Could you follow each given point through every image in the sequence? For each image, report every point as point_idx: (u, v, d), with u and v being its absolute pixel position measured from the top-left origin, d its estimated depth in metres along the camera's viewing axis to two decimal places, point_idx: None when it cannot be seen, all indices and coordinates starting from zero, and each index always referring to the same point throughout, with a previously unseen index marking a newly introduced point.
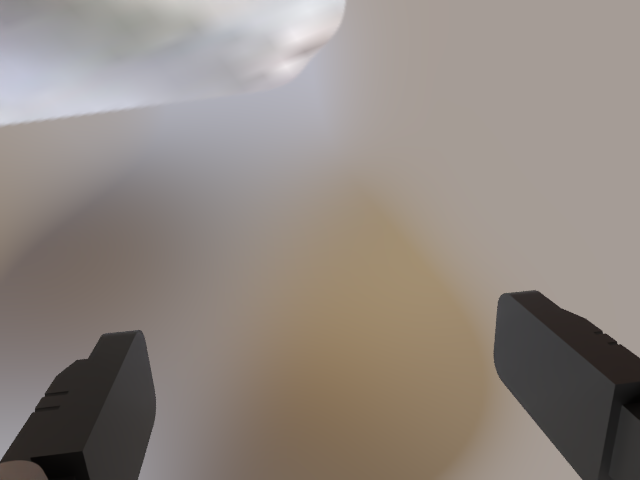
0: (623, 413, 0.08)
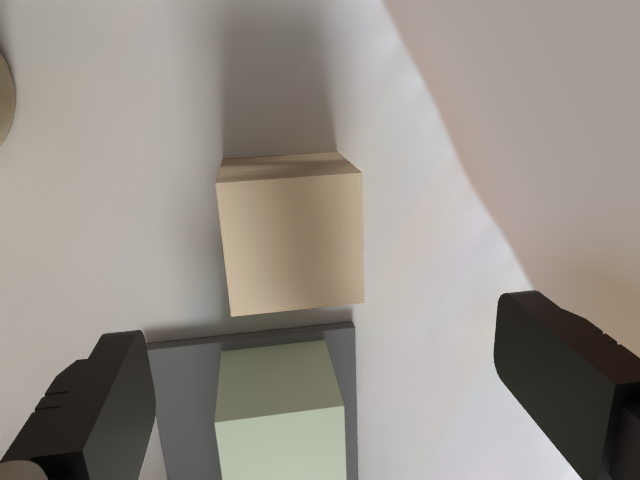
0: (622, 413, 0.08)
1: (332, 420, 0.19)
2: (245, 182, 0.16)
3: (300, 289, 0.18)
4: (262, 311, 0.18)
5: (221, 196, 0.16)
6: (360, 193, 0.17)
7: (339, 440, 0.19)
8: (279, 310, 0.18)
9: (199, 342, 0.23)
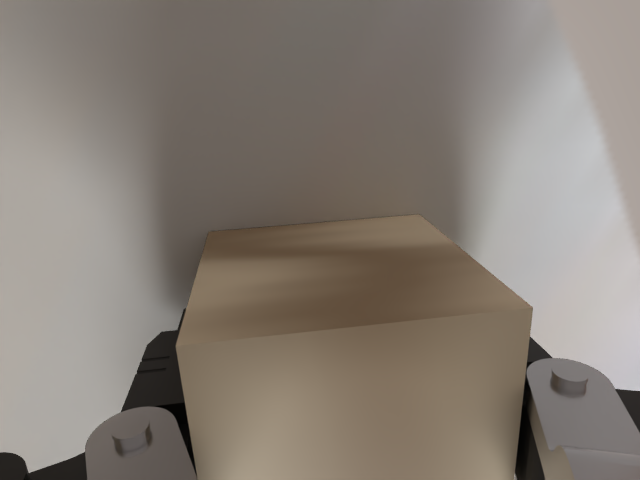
0: None
1: None
2: (250, 341, 0.06)
3: None
4: None
5: (191, 373, 0.06)
6: (523, 352, 0.07)
7: None
8: None
9: None
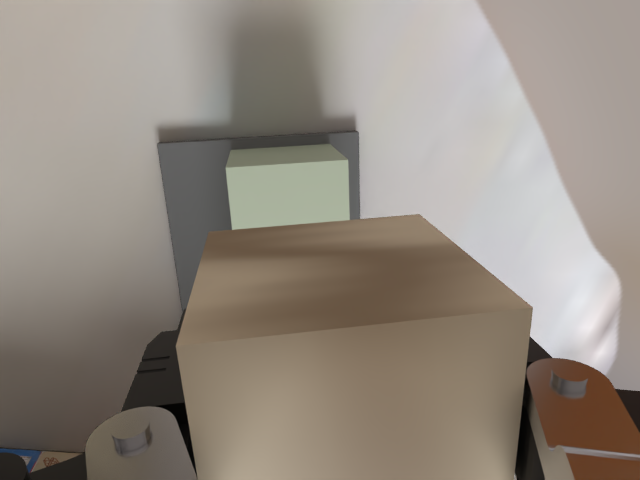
0: None
1: (336, 175, 0.20)
2: (250, 341, 0.06)
3: None
4: None
5: (192, 373, 0.06)
6: (523, 352, 0.07)
7: (343, 199, 0.20)
8: None
9: (210, 140, 0.24)
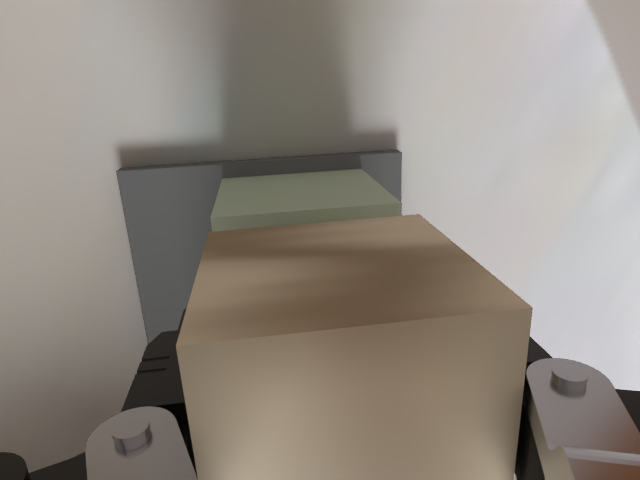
0: None
1: None
2: (250, 341, 0.06)
3: None
4: None
5: (192, 373, 0.06)
6: (523, 352, 0.07)
7: None
8: None
9: (192, 165, 0.17)
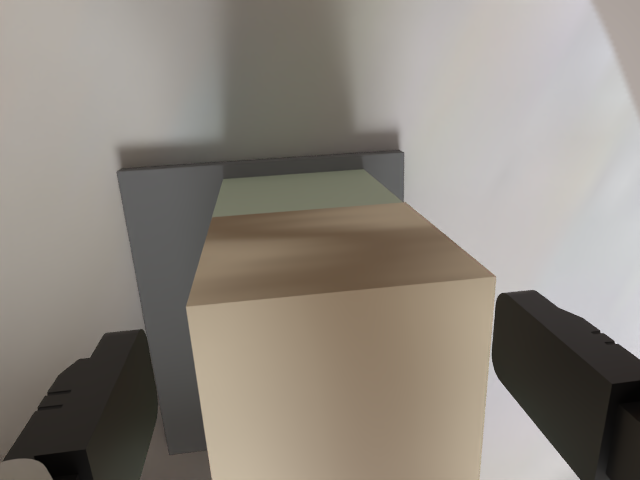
0: (619, 412, 0.08)
1: None
2: (250, 303, 0.07)
3: None
4: None
5: (199, 332, 0.07)
6: (489, 316, 0.08)
7: None
8: None
9: (193, 165, 0.17)
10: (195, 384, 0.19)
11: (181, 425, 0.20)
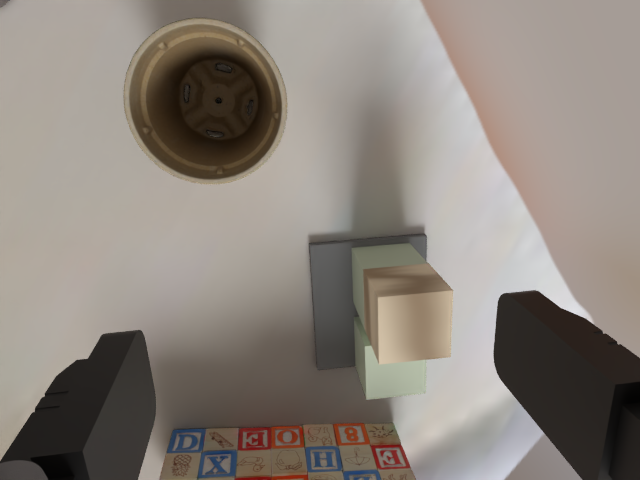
0: (623, 413, 0.08)
1: None
2: (392, 296, 0.31)
3: (416, 350, 0.32)
4: (395, 361, 0.33)
5: (380, 303, 0.31)
6: (451, 300, 0.32)
7: None
8: (404, 361, 0.33)
9: (339, 242, 0.40)
10: (332, 336, 0.43)
11: (324, 355, 0.43)
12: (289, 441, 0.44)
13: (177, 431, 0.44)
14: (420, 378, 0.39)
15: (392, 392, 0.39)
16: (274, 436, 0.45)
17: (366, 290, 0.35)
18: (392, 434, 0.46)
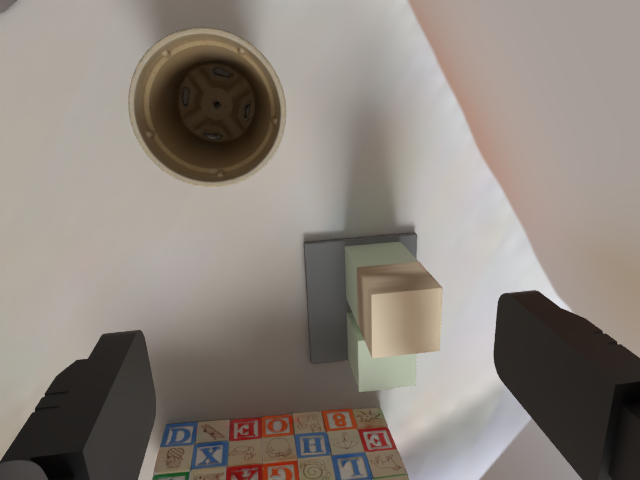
0: (622, 413, 0.08)
1: None
2: (385, 294, 0.33)
3: (407, 344, 0.34)
4: (388, 355, 0.34)
5: (373, 300, 0.33)
6: (441, 297, 0.33)
7: None
8: (395, 355, 0.34)
9: (333, 241, 0.42)
10: (325, 331, 0.44)
11: (318, 350, 0.45)
12: (279, 430, 0.45)
13: (170, 426, 0.46)
14: (410, 371, 0.41)
15: (384, 384, 0.41)
16: (264, 425, 0.46)
17: (359, 287, 0.36)
18: (379, 418, 0.47)
